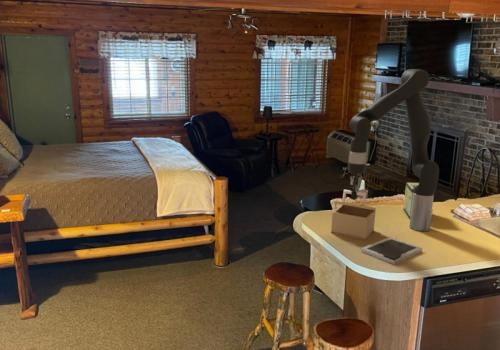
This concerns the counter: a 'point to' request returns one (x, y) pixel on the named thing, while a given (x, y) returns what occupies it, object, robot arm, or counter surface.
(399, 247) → the picture frame
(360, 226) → the carton
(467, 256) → the counter surface
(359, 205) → the lid flap
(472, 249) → the counter surface
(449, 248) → the counter surface
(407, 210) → the protein box
